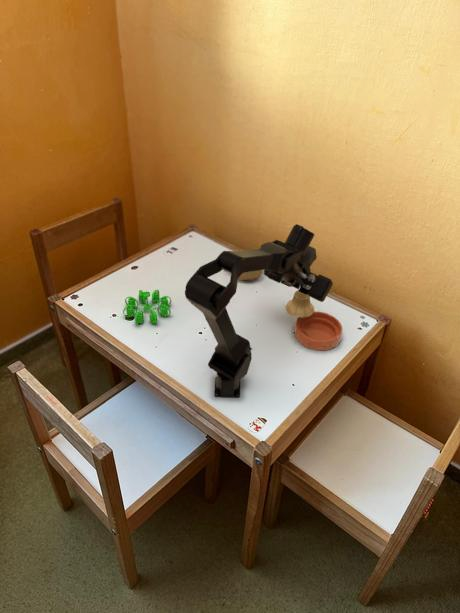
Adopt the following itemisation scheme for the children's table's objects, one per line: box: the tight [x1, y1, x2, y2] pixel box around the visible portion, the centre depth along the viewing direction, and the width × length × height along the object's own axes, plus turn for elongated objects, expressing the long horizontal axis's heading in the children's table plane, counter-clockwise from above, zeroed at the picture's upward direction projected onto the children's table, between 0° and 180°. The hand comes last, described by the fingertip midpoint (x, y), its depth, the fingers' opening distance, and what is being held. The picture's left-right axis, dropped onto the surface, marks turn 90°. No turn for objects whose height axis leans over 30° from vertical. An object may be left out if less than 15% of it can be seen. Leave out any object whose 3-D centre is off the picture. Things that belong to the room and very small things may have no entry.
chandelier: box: [122, 289, 172, 325], centre depth 141 cm, size 15×15×7 cm
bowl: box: [294, 310, 343, 351], centre depth 136 cm, size 13×13×4 cm
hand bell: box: [285, 266, 315, 318], centre depth 132 cm, size 8×8×16 cm
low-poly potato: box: [229, 250, 264, 281], centre depth 156 cm, size 15×11×12 cm
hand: (305, 285), depth 133 cm, fingers closed on hand bell
